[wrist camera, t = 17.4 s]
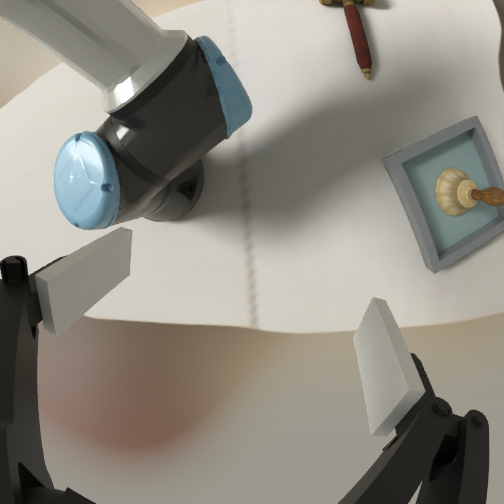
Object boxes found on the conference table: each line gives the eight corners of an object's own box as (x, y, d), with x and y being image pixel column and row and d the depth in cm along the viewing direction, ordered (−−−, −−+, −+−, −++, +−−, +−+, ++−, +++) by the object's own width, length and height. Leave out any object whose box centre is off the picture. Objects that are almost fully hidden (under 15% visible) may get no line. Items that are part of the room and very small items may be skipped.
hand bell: (431, 210, 41) (480, 226, 25) (437, 162, 39) (489, 157, 23) (468, 220, 39) (521, 238, 24) (474, 174, 37) (530, 176, 22)
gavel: (399, 75, 35) (340, 75, 37) (392, 82, 39) (337, 82, 41) (369, -20, 29) (315, -21, 31) (366, -9, 33) (315, -9, 35)
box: (381, 159, 41) (388, 157, 38) (466, 119, 36) (476, 115, 32) (425, 266, 44) (434, 273, 40) (502, 219, 38) (514, 222, 35)
